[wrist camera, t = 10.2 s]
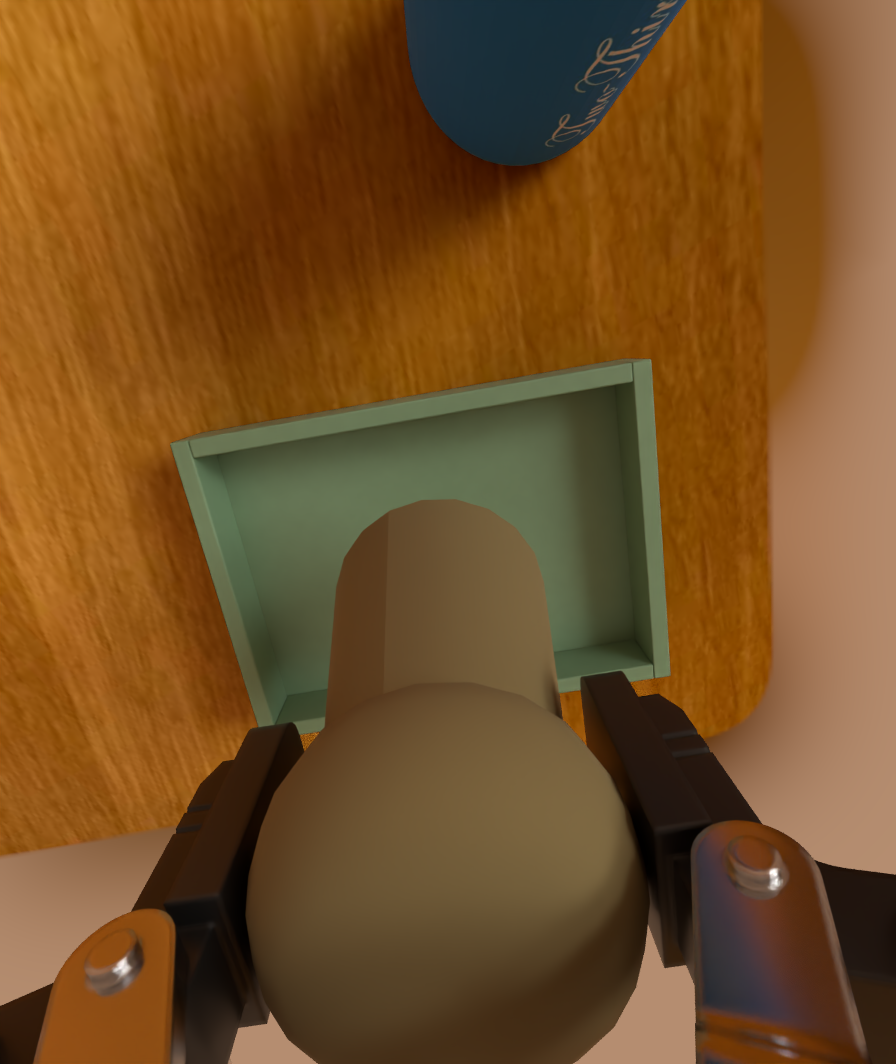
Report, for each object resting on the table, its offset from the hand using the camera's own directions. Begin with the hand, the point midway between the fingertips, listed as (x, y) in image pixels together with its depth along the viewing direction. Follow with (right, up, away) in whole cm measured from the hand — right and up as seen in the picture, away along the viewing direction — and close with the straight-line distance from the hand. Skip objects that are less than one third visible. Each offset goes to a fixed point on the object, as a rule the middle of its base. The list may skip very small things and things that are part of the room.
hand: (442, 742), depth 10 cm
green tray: (0, +3, +11) cm, 12 cm away
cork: (0, +2, +6) cm, 7 cm away
